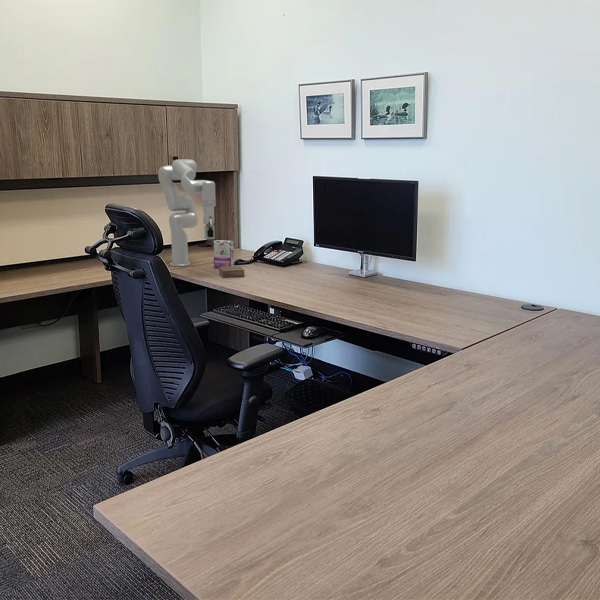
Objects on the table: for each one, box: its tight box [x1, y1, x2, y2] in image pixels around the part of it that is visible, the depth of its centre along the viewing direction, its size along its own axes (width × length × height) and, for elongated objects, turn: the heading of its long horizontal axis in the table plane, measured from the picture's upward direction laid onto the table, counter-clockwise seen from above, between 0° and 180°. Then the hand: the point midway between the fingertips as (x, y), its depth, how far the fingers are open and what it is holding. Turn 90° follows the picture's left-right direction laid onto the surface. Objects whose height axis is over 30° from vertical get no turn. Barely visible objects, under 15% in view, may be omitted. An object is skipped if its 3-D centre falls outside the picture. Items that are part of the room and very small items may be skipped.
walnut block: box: [218, 265, 245, 279], centre depth 352 cm, size 12×12×4 cm
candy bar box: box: [213, 239, 235, 269], centre depth 371 cm, size 11×5×16 cm, turn 73°
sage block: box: [203, 225, 216, 240], centre depth 349 cm, size 5×5×7 cm
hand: (209, 236), depth 350 cm, fingers closed on sage block, 5 cm apart
